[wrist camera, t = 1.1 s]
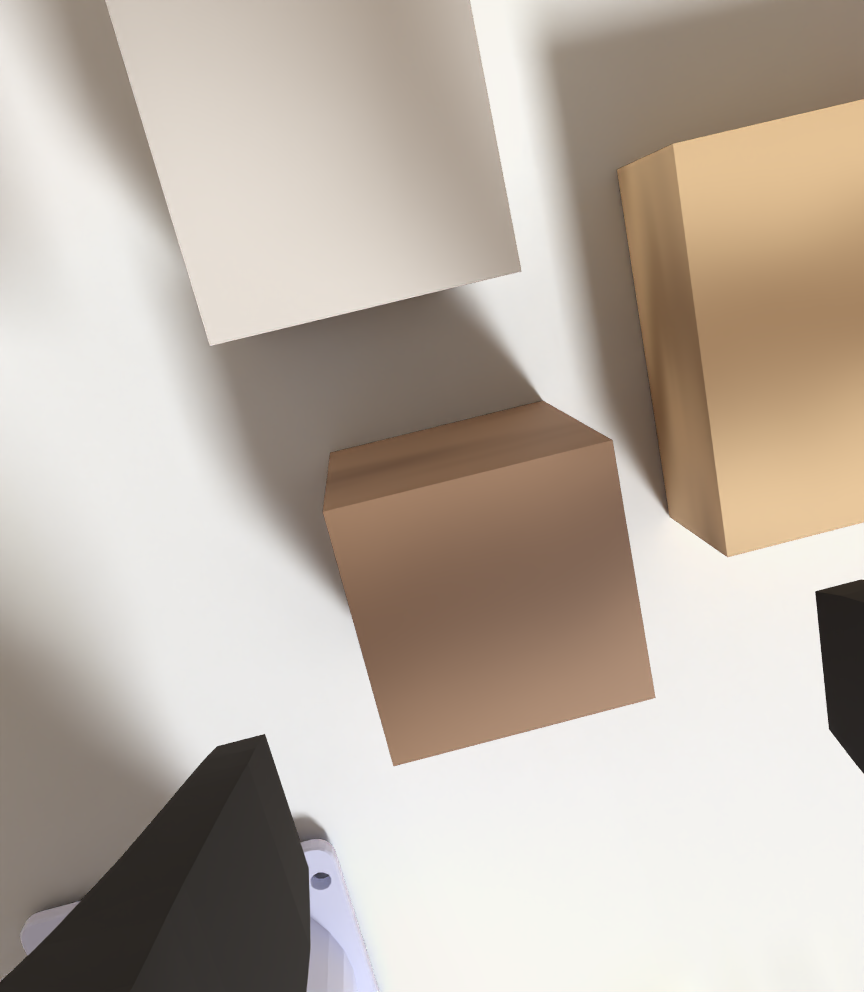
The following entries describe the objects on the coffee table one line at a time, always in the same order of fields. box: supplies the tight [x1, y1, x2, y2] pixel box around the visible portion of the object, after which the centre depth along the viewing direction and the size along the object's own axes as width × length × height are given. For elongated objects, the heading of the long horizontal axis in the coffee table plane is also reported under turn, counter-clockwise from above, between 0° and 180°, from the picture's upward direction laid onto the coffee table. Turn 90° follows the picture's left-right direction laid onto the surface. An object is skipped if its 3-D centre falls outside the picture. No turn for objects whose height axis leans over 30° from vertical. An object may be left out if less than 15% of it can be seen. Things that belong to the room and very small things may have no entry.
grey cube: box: [105, 0, 521, 346], centre depth 14 cm, size 5×5×5 cm
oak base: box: [617, 99, 864, 557], centre depth 16 cm, size 8×8×3 cm
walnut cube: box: [323, 401, 655, 766], centre depth 16 cm, size 5×5×5 cm
